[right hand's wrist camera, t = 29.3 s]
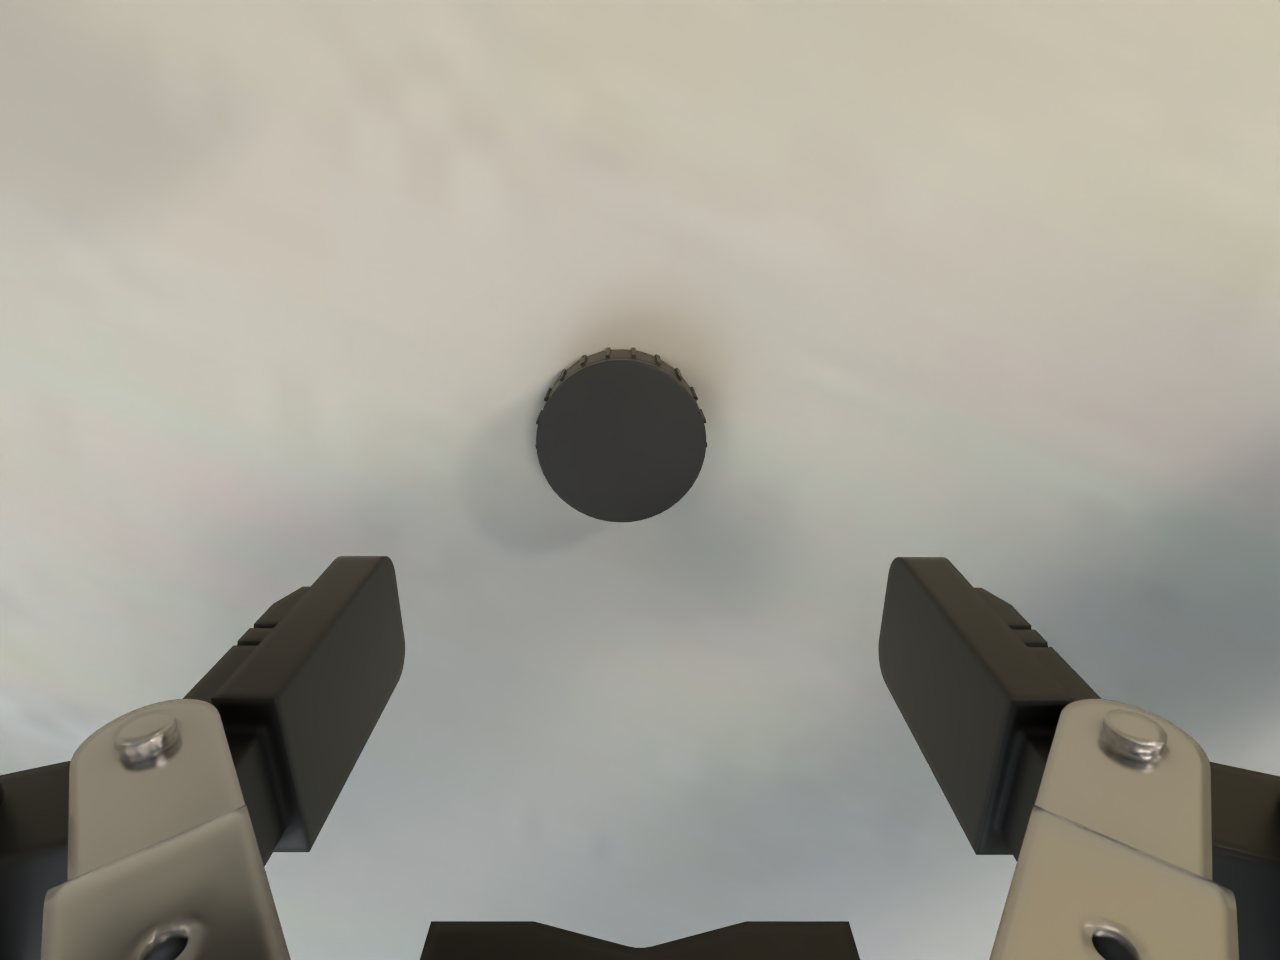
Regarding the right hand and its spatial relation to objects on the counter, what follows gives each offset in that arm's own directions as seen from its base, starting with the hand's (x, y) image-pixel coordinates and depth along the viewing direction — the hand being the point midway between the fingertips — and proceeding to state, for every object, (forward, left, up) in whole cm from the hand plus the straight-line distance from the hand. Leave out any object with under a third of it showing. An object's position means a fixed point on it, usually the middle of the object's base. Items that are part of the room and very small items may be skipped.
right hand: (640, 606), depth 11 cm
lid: (0, 0, -8) cm, 8 cm away
